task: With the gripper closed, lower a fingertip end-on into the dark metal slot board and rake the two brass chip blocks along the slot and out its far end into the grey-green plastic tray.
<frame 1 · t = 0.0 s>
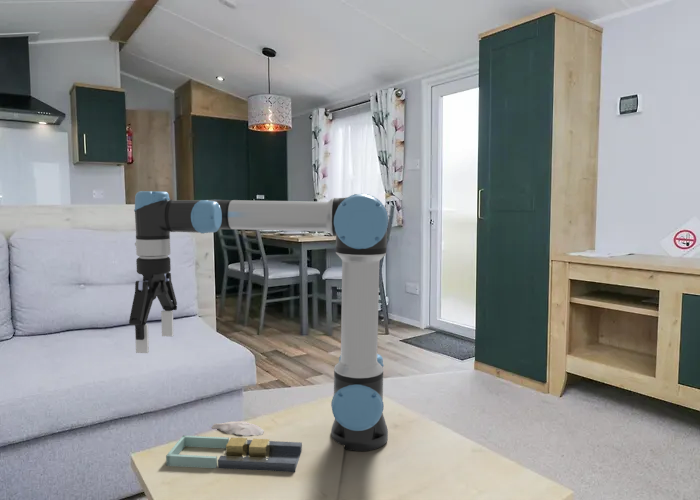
hand: (155, 344, 121), 28 cm above the table, fingers open, 13 cm apart
stone tool: (238, 433, 137), on the table
tray: (198, 459, 122), on the table
slot board: (261, 462, 121), on the table
chip a: (259, 458, 121), point 1 cm above the table, touching slot board
chip b: (236, 457, 121), point 1 cm above the table, touching slot board
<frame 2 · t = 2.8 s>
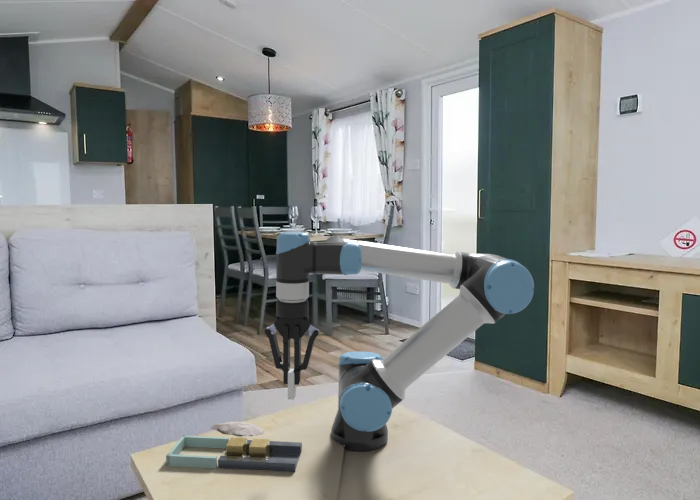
hand: (291, 397, 119), 17 cm above the table, fingers closed
nothing on the table moved.
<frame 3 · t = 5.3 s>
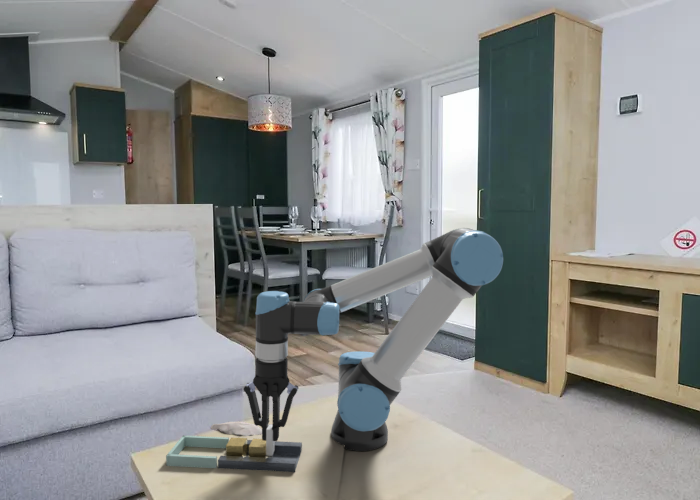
hand: (270, 452, 121), 3 cm above the table, fingers closed
chip a: (259, 458, 121), point 1 cm above the table, touching gripper
everything else where it was.
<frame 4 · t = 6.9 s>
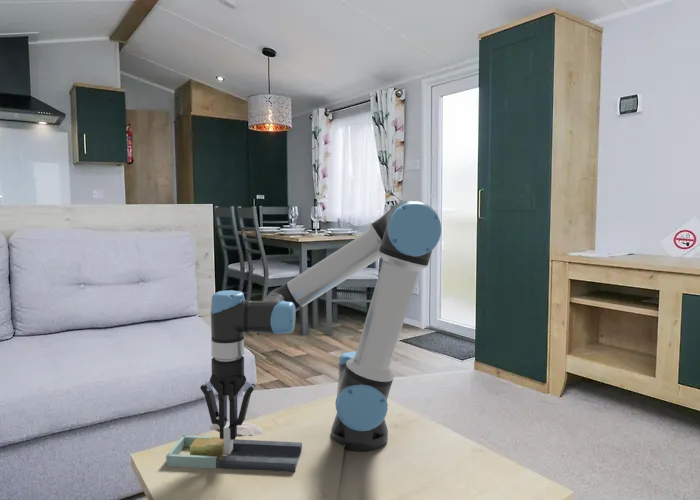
hand: (228, 451, 121), 3 cm above the table, fingers closed
chip a: (217, 456, 122), point 1 cm above the table, touching chip b, gripper, slot board
chip b: (201, 458, 122), resting on tray, touching chip a
everything else where it was.
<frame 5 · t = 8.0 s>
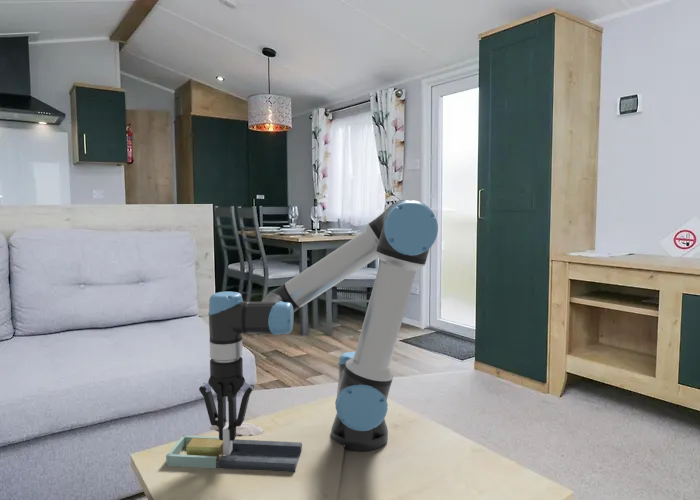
hand: (227, 452, 121), 2 cm above the table, fingers closed
chip a: (214, 458, 122), resting on tray
chip b: (197, 458, 122), resting on tray
everything else where it was.
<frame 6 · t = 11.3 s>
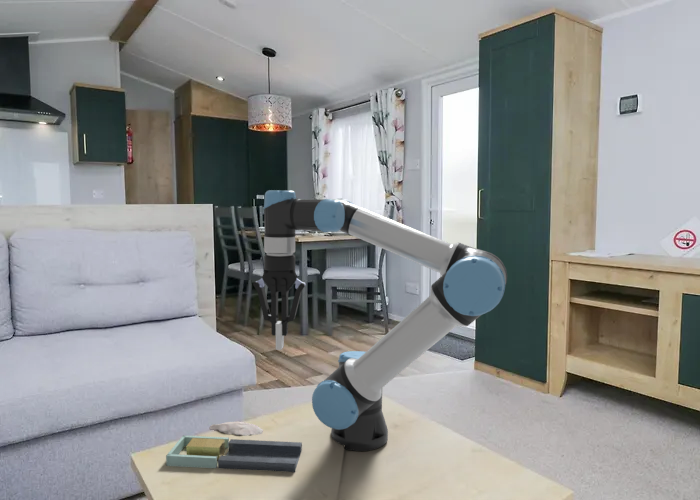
hand: (279, 347, 125), 26 cm above the table, fingers closed
nothing on the table moved.
at the end: chip a inside the target area on the tray (3.8 cm from its centre), point 0.4 cm above the tray's base; chip b inside the target area on the tray (0.2 cm from its centre), point 0.4 cm above the tray's base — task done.
